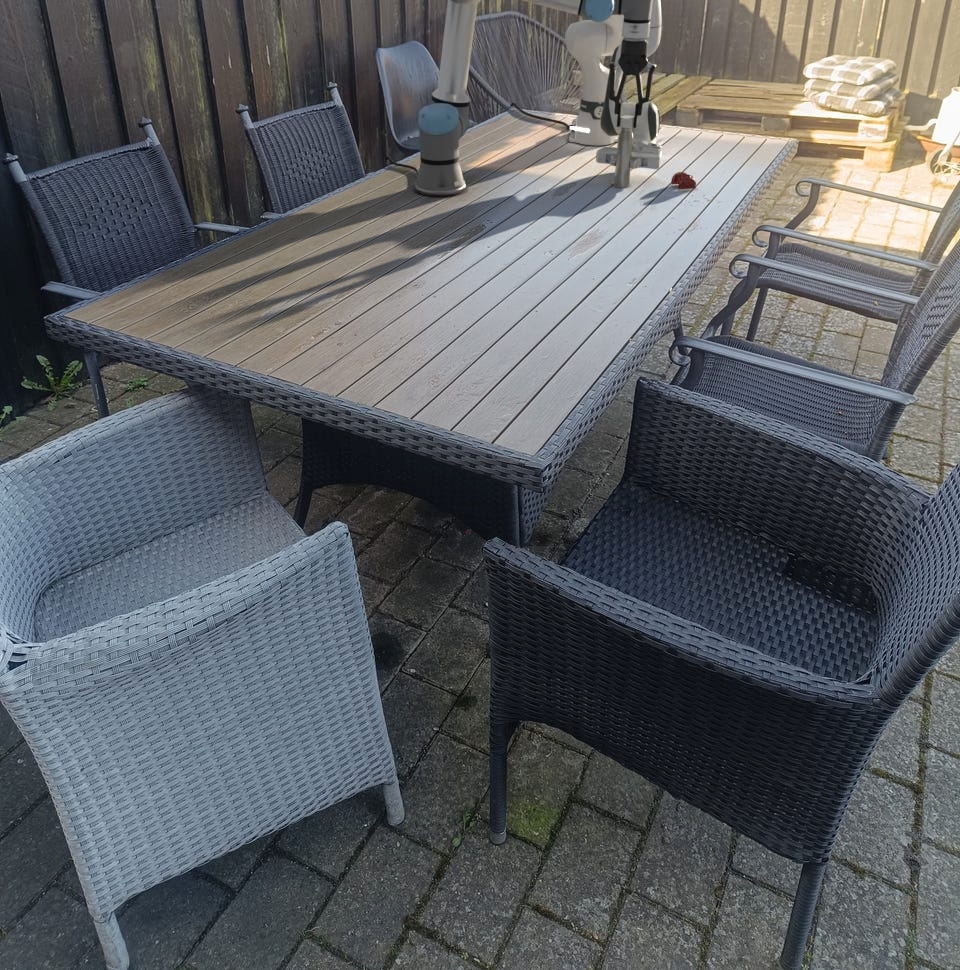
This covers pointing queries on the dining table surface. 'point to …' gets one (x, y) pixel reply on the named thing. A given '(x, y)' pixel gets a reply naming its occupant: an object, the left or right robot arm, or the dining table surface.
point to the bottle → (623, 158)
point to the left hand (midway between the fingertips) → (626, 126)
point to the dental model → (683, 180)
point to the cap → (627, 121)
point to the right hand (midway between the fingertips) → (622, 164)
